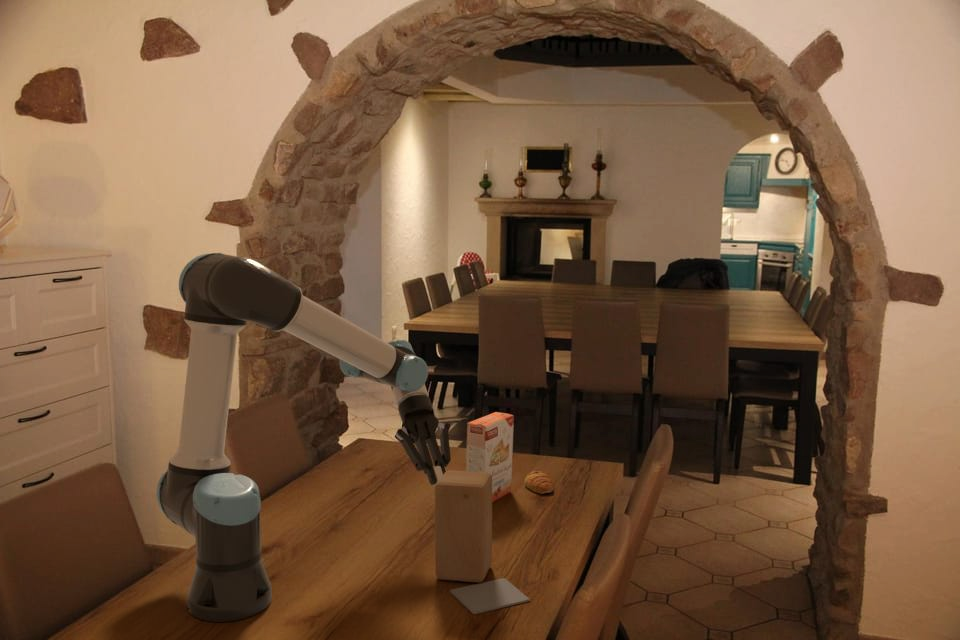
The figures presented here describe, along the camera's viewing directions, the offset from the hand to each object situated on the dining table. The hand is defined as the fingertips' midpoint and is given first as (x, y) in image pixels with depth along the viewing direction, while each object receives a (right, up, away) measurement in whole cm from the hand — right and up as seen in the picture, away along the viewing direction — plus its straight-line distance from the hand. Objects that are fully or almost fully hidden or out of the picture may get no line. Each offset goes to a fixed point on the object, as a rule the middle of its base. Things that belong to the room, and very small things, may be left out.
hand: (444, 496), depth 180 cm
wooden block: (+4, -14, -7) cm, 16 cm away
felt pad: (+9, -16, -16) cm, 25 cm away
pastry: (+23, -7, +44) cm, 51 cm away
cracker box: (+10, -8, +36) cm, 38 cm away
